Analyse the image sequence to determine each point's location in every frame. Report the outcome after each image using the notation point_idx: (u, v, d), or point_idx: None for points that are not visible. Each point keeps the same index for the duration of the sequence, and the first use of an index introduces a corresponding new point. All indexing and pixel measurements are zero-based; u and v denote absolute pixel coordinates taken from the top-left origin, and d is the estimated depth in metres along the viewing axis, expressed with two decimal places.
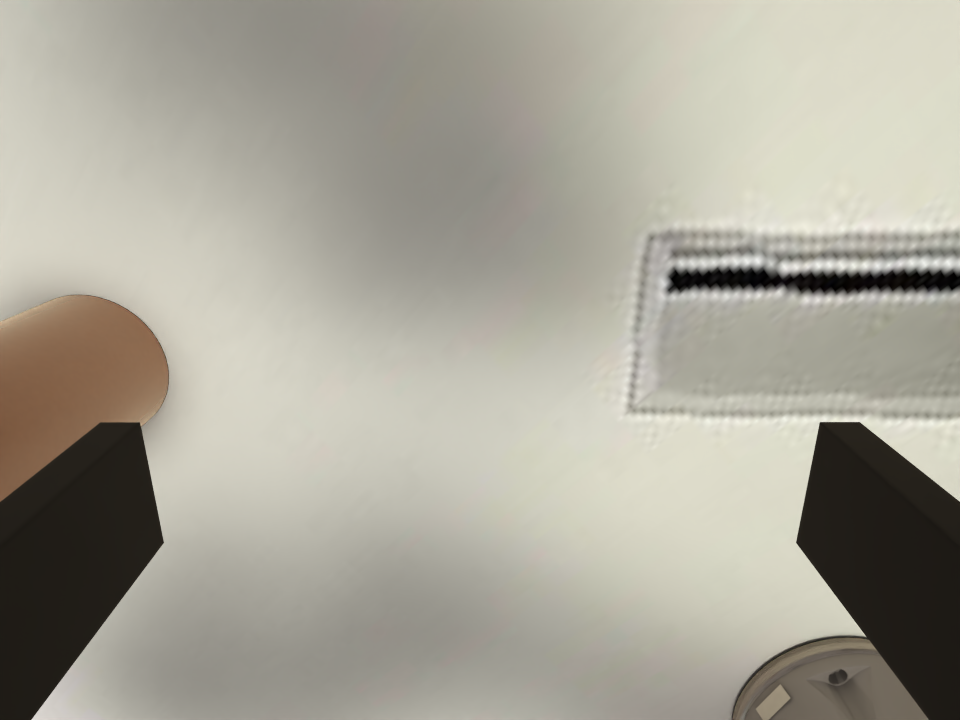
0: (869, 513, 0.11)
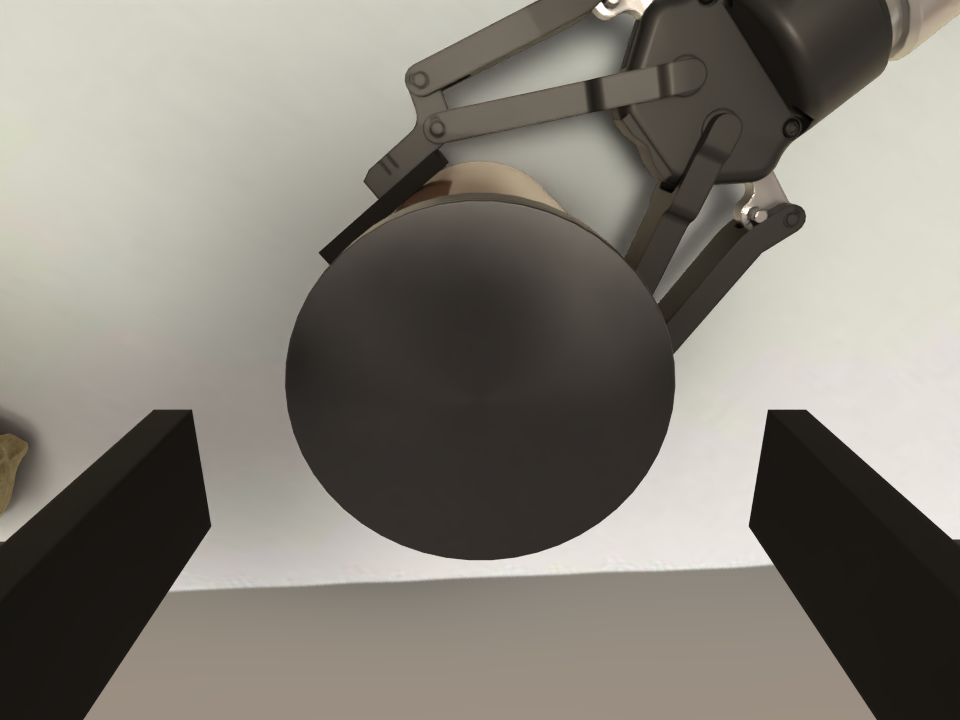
0: (808, 494, 0.11)
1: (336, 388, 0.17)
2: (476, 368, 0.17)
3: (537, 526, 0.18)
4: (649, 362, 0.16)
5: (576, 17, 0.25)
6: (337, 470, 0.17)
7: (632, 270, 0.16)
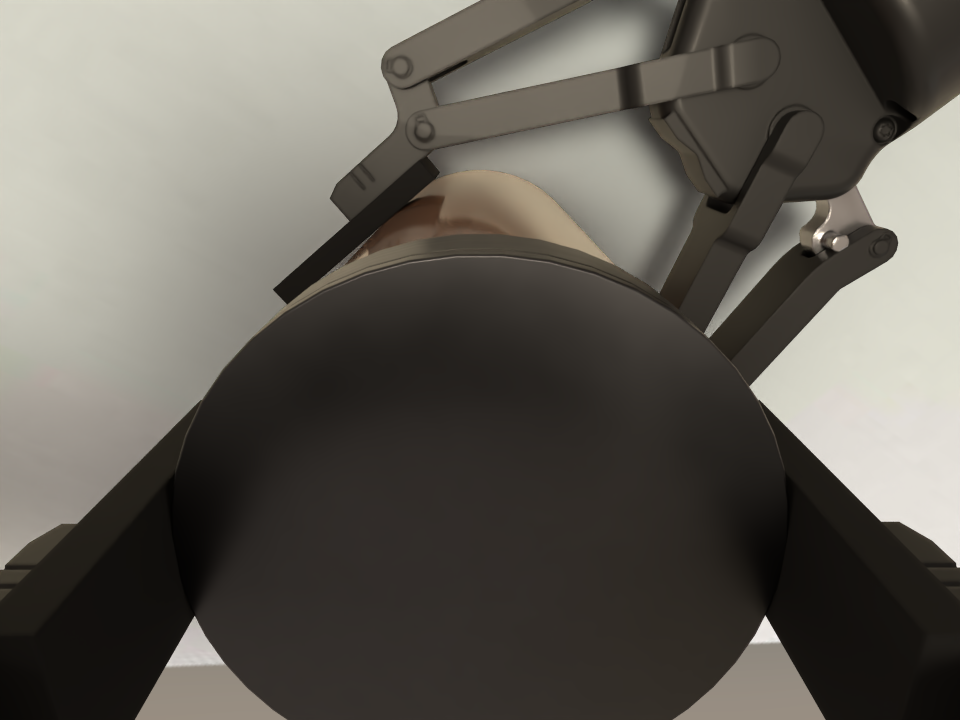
0: None
1: (253, 543, 0.11)
2: (474, 514, 0.10)
3: None
4: (748, 505, 0.10)
5: None
6: (260, 658, 0.11)
7: (730, 366, 0.09)
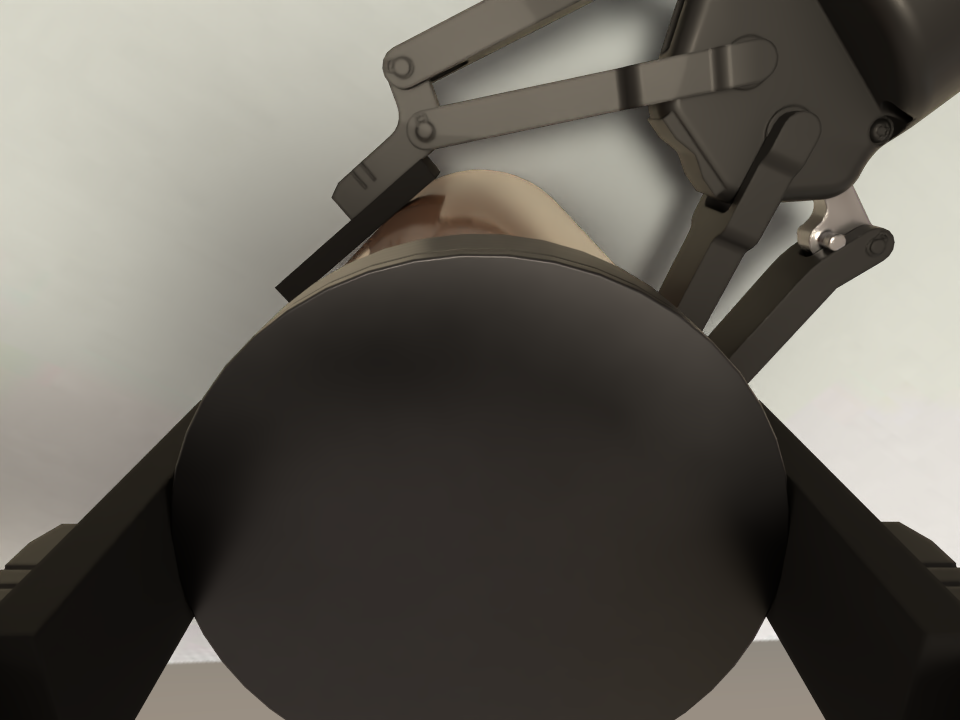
0: None
1: None
2: (428, 557, 0.11)
3: (736, 504, 0.10)
4: (453, 299, 0.09)
5: None
6: None
7: (281, 318, 0.09)
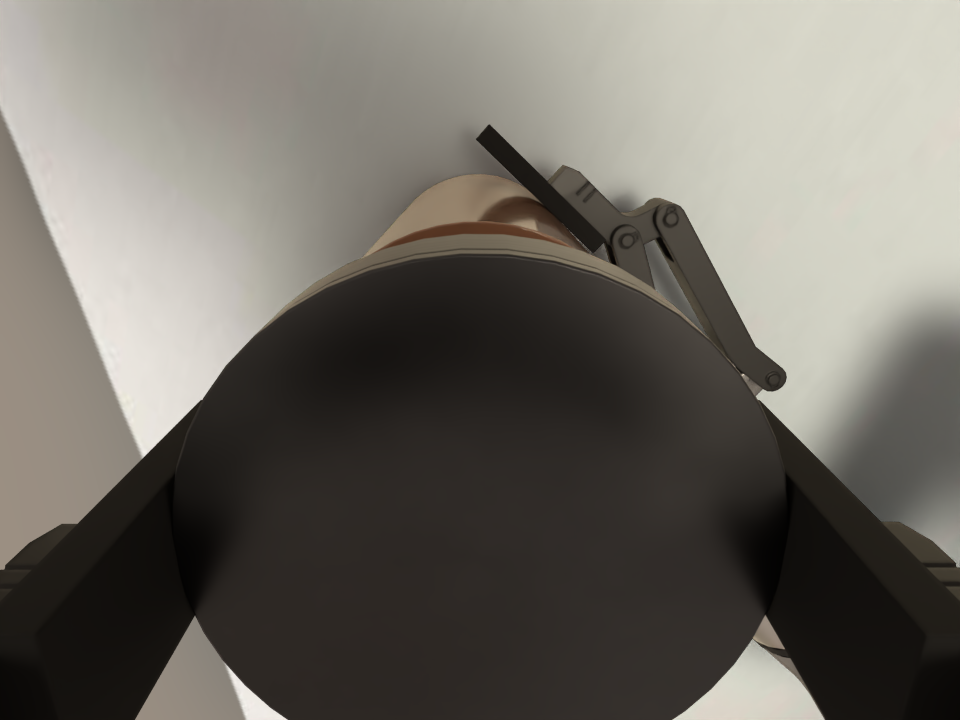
0: None
1: None
2: (428, 556, 0.11)
3: (735, 504, 0.10)
4: (453, 300, 0.09)
5: (726, 351, 0.28)
6: None
7: (282, 318, 0.09)
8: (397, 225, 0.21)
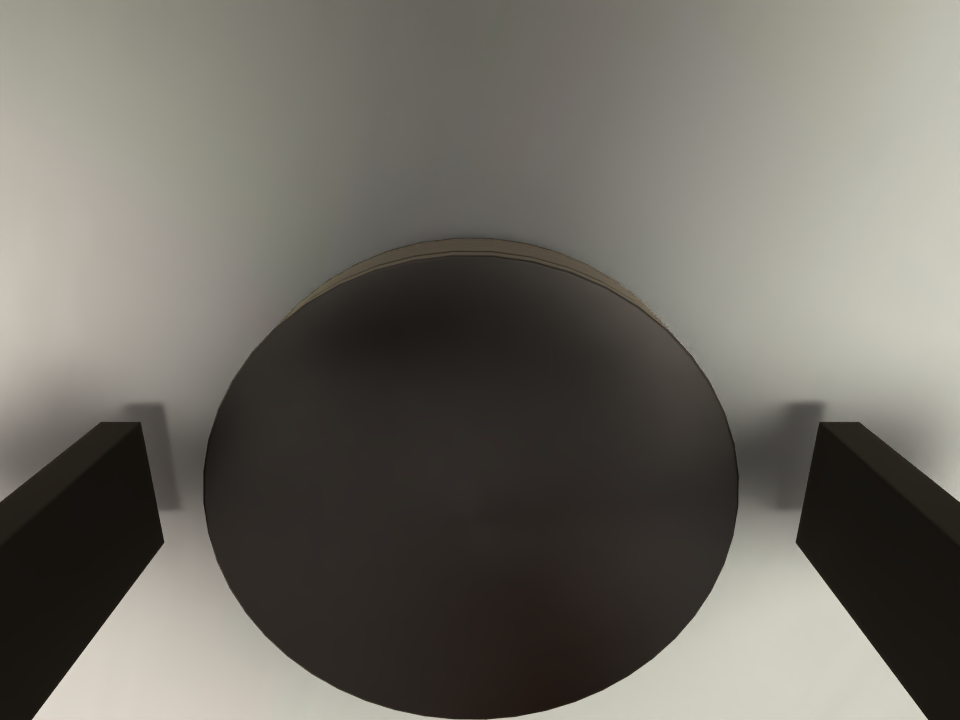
0: (868, 512, 0.11)
1: (433, 669, 0.13)
2: (426, 518, 0.12)
3: (692, 471, 0.12)
4: (447, 293, 0.11)
5: None
6: (545, 687, 0.14)
7: (301, 310, 0.11)
8: None
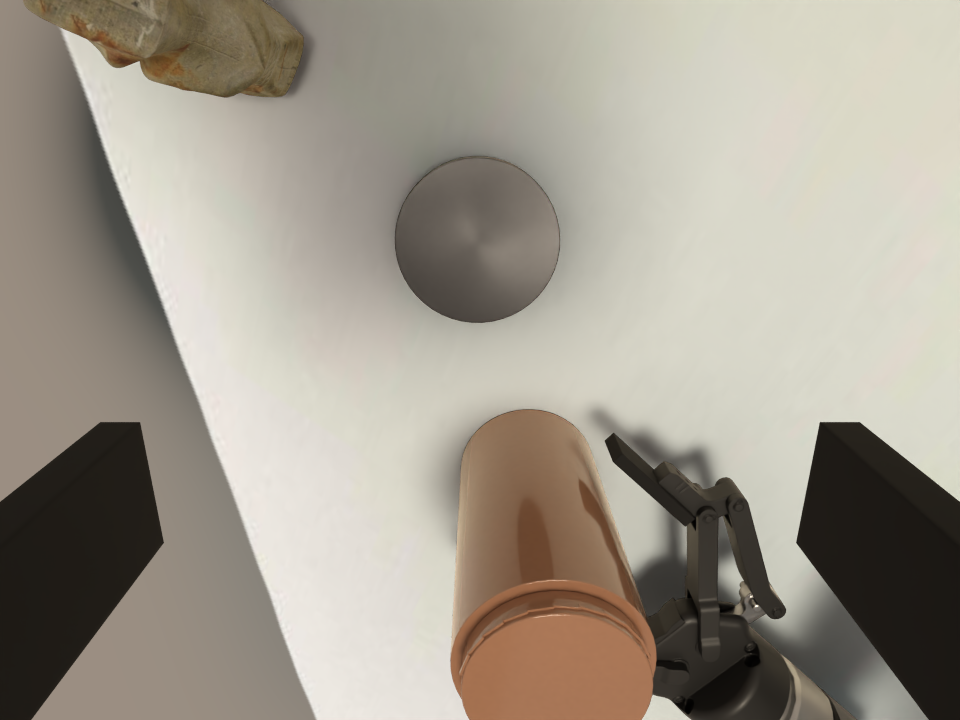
0: (869, 513, 0.11)
1: (464, 301, 0.41)
2: (463, 243, 0.40)
3: (544, 226, 0.39)
4: (470, 169, 0.38)
5: (751, 590, 0.42)
6: (501, 308, 0.41)
7: (429, 174, 0.38)
8: (496, 531, 0.33)
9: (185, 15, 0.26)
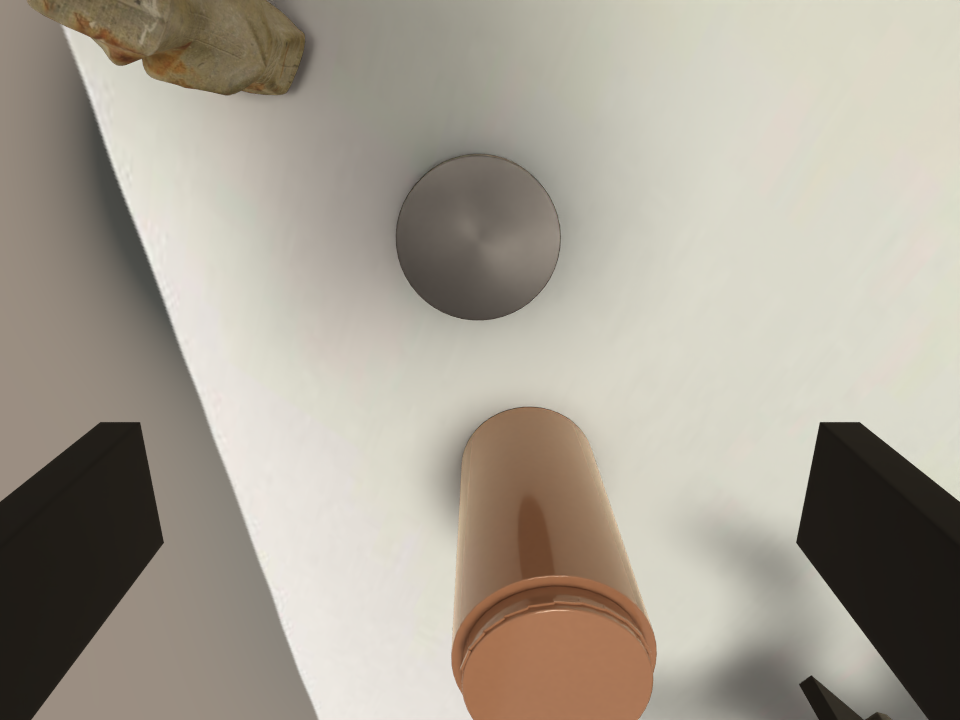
0: (869, 513, 0.11)
1: (465, 298, 0.41)
2: (464, 241, 0.40)
3: (545, 224, 0.39)
4: (471, 167, 0.38)
5: None
6: (502, 306, 0.41)
7: (430, 171, 0.38)
8: (497, 528, 0.33)
9: (187, 13, 0.26)
